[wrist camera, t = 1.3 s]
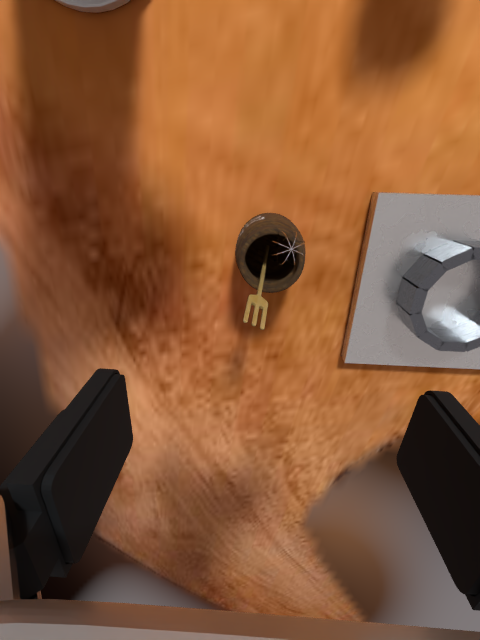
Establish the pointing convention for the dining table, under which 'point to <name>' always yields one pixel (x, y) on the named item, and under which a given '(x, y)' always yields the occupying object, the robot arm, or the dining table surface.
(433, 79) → the dining table surface
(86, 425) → the robot arm
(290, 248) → the utensil holder
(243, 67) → the dining table surface
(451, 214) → the collar stand
